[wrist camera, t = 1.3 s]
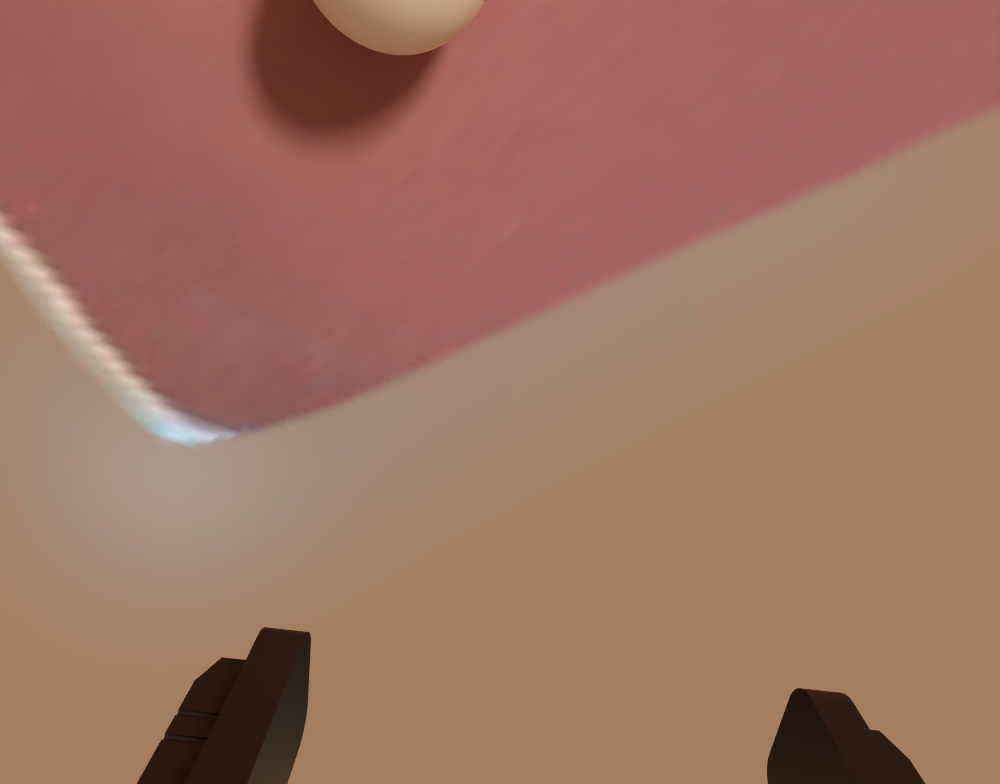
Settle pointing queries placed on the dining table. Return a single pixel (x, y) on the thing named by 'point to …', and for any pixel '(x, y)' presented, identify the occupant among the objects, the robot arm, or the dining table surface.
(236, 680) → the robot arm
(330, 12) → the cue ball
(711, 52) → the dining table surface
